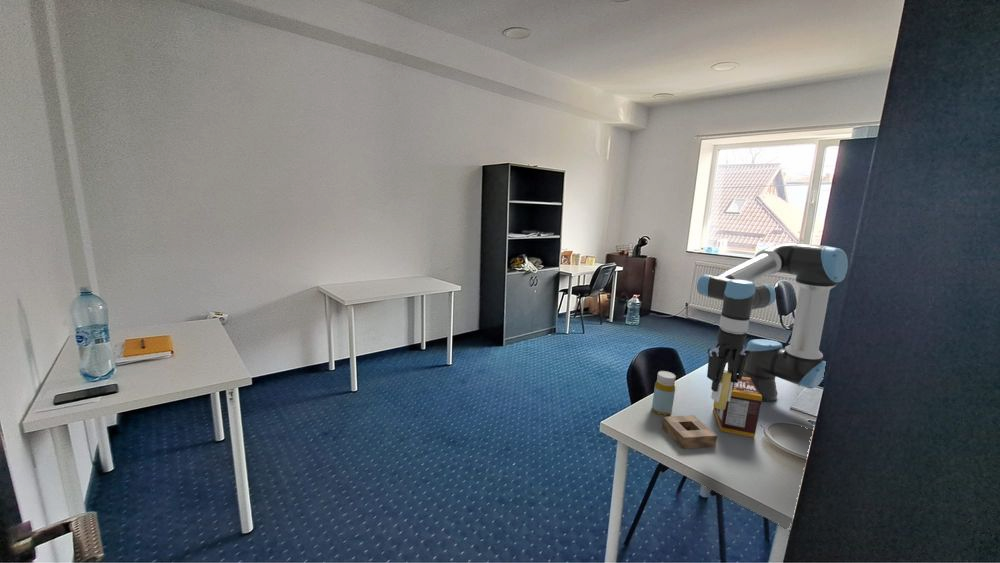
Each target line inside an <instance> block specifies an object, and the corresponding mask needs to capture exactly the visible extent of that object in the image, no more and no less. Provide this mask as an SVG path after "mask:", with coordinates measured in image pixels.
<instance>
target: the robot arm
mask: <svg viewBox="0 0 1000 563" xmlns="http://www.w3.org/2000/svg"><path fill="white" fill-rule="evenodd" d="M848 268H849V260H848V256H847V253H846V252H845V251H844V250H843V249H842V248H838V247H834V246H828V245H821V244H820V245H819V244H817V245H816V244H808V243H797V242H787V243H781V244H777V245H772V246H770V247H767V248H765V249H762V250H760V251H758V252H757V253H756V254H755V256H754V257H751V258H750V259H748V260H745V261H743V262H742V263H739V264H736V265H735V266H733V267H731V268H729V269H727V270H725V271H723V272H721V273H719V274H716V275H713V274H702V275H701V276H700V277H699V279H698V280H697V284H696V290H697V293H698V294H699V295H701V296H704V297H707V298H709V299H714V300H719V301H723V302H722V307H721V314H720V318H719V325H718V326H719V328H718V330H717V336H716V337H717V338H716V339H717V344H716V346H715V348H713V349H711V348H709V349H707V355H708V363H707V371H706V372H707V374H706V377H707V379H709V380H711V388H710V389H711V391H712V392H711V396H710V398H711V399H712V400H713V401H714V400H715V401H716V402H719V400H720V395H721V389H722V382H720V381H721V378H722V375H723V372H724V370H726V369H725V368H726V365H727V371H729V372H731V373H732V375H731V381H730V386H729V392H728V397H727V401H730V398H731V392H732V390H733V389H734V383H738V381H737V380H738V379H739V380H741V379H742V377H748V378H751V380H752V382H753V383H754V385H755V386H756V388H757V390H758V391H759V393H760V394H761V396H762V401H761V402H773V401H776V400H777V398H778V390H777V385H776V384H777V383H776V378H779V379H781V380H784V381H787V382H789V383H791V384H794V385H797V386H799V387H803V388H806V389H810V390H811V389H815V388H817V387H818V386H819V385H820V384H821V383H822V382H823V381H824V378H825V377H824V372H825V366H826V362H827V361H825V360H823V357H824V354H823V353H822V351H820V345H821V340H822V334H823V330H824V325H825V324H824V323H825V320H826V319H825V318H826V315H827V314H826V313H827V307H828V303H829V298H830V291H831V289H833V288H835V287H836V286H837V285H838V283H840V282H842V281H843V280H845V278H846V274H847V272H848ZM776 273H783V274H788V275H794V276H796V277H795V283H796V284H798V286H799V290H798V295H797V303H796V308H795V312H794V313H795V314H794V321H793V326H792V332H791V337H790V338H791V340H790V344H788V345H786V346H785V347H784V348H783V343H782V342H779V341H776V340H773V339H763V338H761V339H759V338H757V339H750V340H749V341H748V343H747V344H746V341H747V335H748V334H747V332H748V330H749V325H750V324H749V323H750V320H751V319H750V318H751V314H752V311H753V310H756V309H763V308H764V309H765V308H767V307H768V306H771V305H773V304H774V302H775V301H776V298H777V296H776V294H777V293H776V290H775V289H774V288H773V287H772V286H771V285H770V284H767V283H761V282H759V283H755V281H757V280H759V279H761V278H762V277H764V276H766V275H773V274H774V275H775V274H776ZM744 345H746V348H744ZM823 377H824V378H823Z"/></svg>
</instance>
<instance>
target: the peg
mask: <svg viewBox="0 0 1000 563" xmlns="http://www.w3.org/2000/svg"><path fill="white" fill-rule="evenodd" d="M731 375H732V373H731V372H729V371H728V370H726V369H724V372H723V375H722V378H721V381H720V382H722V389H721V395H720V400H719V402H716V401H715V400H713V408H714V407H715V408H717V409H720V410H724V409H725V408H726V403H727V397H728V392H729V386H730V381H731Z"/></svg>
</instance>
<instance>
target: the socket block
mask: <svg viewBox="0 0 1000 563" xmlns="http://www.w3.org/2000/svg"><path fill="white" fill-rule="evenodd" d="M661 428H662V429H663V431H665V432H666V434H667V435H668V436H669V437H671V439H672V440H673V441H674V442H675V443H676V444H677V445H678V446H679V447H680V448H681V449H696V448H697V449H698V448H710V447H717V446H716V445H717V440H718V435H717V434H716V433H715V432H714V431H713V430H712V429H710V428H709V427H708V426H707V425H706V424H705V422H703V421H701V420H700V419H699V418H698V417H697V416H696V415H694V414H692V415H675V416H669V415H668V416H663V417H662V422H661Z"/></svg>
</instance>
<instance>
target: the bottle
mask: <svg viewBox="0 0 1000 563" xmlns="http://www.w3.org/2000/svg"><path fill="white" fill-rule="evenodd" d="M676 377H677V375H675V373H673V372H670V371H667V370H666V371H665V370H660V371H658V372H657V377H656V378H657V379H656V381H655V383H654V390H653V397H652V403H651V405H652V406H651V409H652V410H653V411H654V413H656V414H658V415H661V416H669V415H671V414H672V412H673V407H674V400H675V392H676V385H675V382H676Z"/></svg>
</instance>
